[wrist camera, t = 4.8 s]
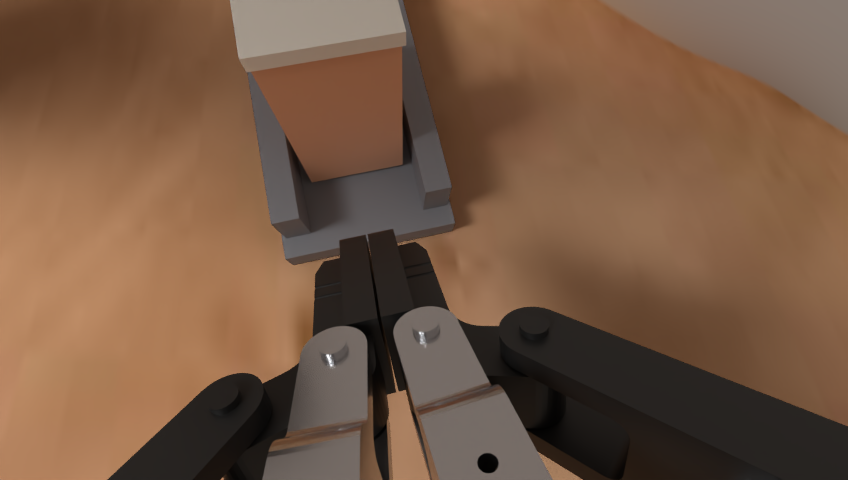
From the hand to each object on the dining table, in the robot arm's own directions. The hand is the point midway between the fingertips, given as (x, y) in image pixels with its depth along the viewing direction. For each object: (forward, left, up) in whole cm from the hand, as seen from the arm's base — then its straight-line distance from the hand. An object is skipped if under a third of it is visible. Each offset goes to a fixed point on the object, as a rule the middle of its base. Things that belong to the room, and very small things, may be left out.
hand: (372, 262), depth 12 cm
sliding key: (+6, +6, -8) cm, 12 cm away
